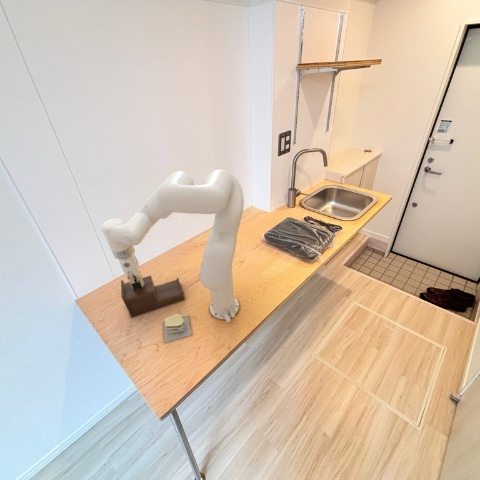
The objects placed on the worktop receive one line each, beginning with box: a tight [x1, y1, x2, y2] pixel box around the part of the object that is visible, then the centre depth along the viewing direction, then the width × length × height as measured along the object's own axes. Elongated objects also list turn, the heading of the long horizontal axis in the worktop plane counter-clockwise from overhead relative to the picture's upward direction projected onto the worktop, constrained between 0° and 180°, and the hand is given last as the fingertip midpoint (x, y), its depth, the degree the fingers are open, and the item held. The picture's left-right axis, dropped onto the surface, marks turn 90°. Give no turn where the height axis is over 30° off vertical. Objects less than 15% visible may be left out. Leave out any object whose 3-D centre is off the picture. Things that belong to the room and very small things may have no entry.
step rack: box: [120, 275, 185, 318], centre depth 108 cm, size 10×23×13 cm, turn 113°
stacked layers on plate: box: [163, 313, 192, 343], centre depth 97 cm, size 10×9×6 cm
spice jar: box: [127, 272, 144, 290], centre depth 101 cm, size 6×6×8 cm
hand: (137, 283), depth 103 cm, fingers closed on spice jar, 5 cm apart
